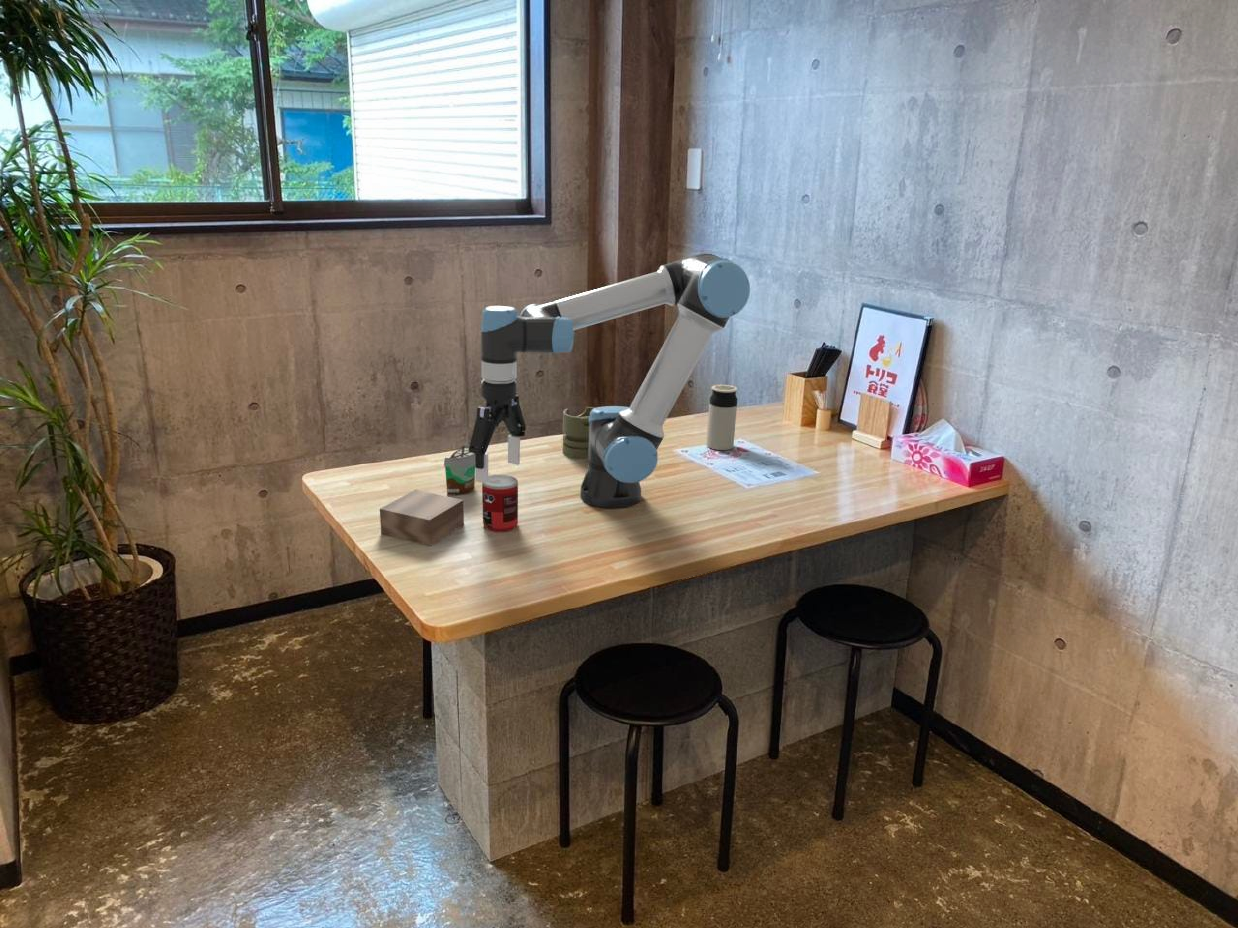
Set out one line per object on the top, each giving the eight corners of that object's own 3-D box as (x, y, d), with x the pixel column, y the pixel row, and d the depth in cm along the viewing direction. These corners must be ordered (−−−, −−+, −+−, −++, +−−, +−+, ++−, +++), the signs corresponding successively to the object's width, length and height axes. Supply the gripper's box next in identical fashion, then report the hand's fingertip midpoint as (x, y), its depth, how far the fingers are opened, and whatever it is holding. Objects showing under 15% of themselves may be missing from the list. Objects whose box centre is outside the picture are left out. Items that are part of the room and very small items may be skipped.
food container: (468, 499, 215) (467, 461, 211) (444, 496, 216) (443, 458, 212) (486, 482, 226) (485, 445, 223) (463, 479, 227) (462, 443, 224)
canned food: (483, 518, 204) (483, 474, 201) (518, 518, 205) (518, 474, 201) (481, 532, 197) (480, 486, 193) (517, 532, 198) (517, 486, 194)
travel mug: (734, 451, 257) (739, 391, 251) (707, 450, 257) (711, 390, 251) (731, 443, 264) (736, 384, 258) (705, 441, 264) (709, 383, 258)
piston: (610, 416, 244) (572, 419, 240) (608, 456, 248) (571, 461, 244) (593, 405, 254) (557, 408, 249) (592, 444, 258) (556, 448, 253)
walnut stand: (463, 524, 201) (463, 500, 199) (430, 545, 190) (429, 520, 187) (416, 513, 206) (415, 489, 204) (381, 533, 194) (379, 508, 192)
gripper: (513, 366, 202) (512, 453, 209) (451, 389, 180) (452, 486, 187) (541, 370, 199) (539, 459, 206) (482, 394, 177) (482, 492, 184)
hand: (498, 472), depth 197 cm, fingers open, 13 cm apart
